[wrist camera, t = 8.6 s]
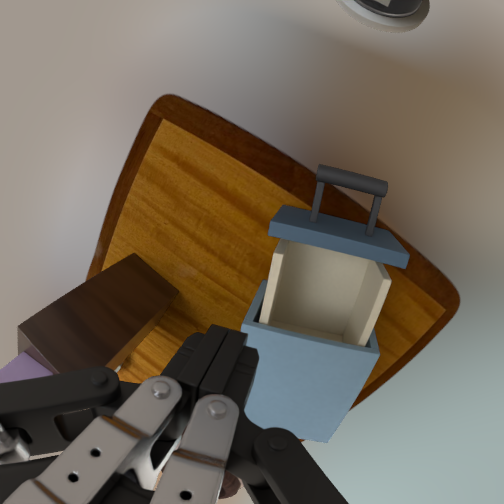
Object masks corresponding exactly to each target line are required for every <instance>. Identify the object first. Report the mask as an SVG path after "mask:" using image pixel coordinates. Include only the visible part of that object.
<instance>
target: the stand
mask: <svg viewBox="0 0 504 504" xmlns="http://www.w3.org/2000/svg"><path fill="white" fill-rule="evenodd" d="M178 292H179V291H178V290H177V289H176V288H175V287H173V286H172V285H171V284H170V283H168V282H167V281H166V280H165V279H164V278H162V277H161V276H160V275H159V274H158V273H157V272H155V271H154V270H153V269H152V268H151V267H149V266H148V265H147V264H146V263H145V262H144V261H143V260H141V259H140V258H139V257H138V256H137V255H136V254H135V253H133V254H131V255H129V256H127V257H126V258H124V259H122V260H121V261H119V262H117V263H116V264H114V265H112V266H110V267H109V268H107V269H105V270H104V271H102V272H100V273H99V274H97V275H96V276H94V277H92V278H91V279H89V280H87V281H86V282H84V283H83V284H81V285H79V286H78V287H76V288H75V289H73V290H71V291H70V292H68V293H67V294H65V295H64V296H62V297H60V298H59V299H57V300H56V301H54V302H53V303H51V304H50V305H48V306H47V307H46V308H44V309H42V310H41V311H39V312H38V313H36V314H35V315H34V316H32V317H30V318H29V319H28V320H26V321H24V322H23V323H21V324H20V325H19V326H18V355H19V354H21V353H22V352H23V351H24V352H25V353H27V354H28V355H29V356H30V357H32V358H33V359H34V360H36V361H37V362H38V363H40V364H41V365H43V366H44V367H45V368H47V369H48V370H50V371H51V372H52V373H53V375H55V374H60V373H66V372H71V371H76V370H81V369H86V368H90V367H95V366H105V367H108V368H111V369H112V370H114V371H115V370H116V369H117V368H118V367H119V365H120V364H121V363H122V362H123V361H124V360H125V359H126V358H127V357H128V356H129V355H130V353H131V352H132V351H133V350H134V349H135V348H136V347H137V346H138V345H139V344H140V343H141V342H142V340H143V339H144V338H145V337H146V336H147V335H148V334H149V333H150V332H151V331H152V330H153V329H154V328H155V326H156V325H157V323H158V322H159V320H160V319H161V317H162V316H163V314H164V313H165V311H166V310H167V308H168V307H169V305H170V304H171V302H172V301H173V299H174V298H175V296H176V295H177V293H178ZM75 412H77V411H75ZM70 413H72V412H70ZM65 414H67V413H65Z"/></svg>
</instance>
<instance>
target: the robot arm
mask: <svg viewBox="0 0 504 504" xmlns="http://www.w3.org/2000/svg"><path fill="white" fill-rule="evenodd" d="M354 1H355V2H357V3H358V4H359V5H361V6H362V7H364V8H365V9H367V10H369V11H371V12H374V13H376V14H379V15H382V16H386V17H393V18H402V17H407V16H410V15H412V14H414V13H415V12H416V11H417V10H418V8H419V7H420V5H421V2H422V1H423V0H354ZM247 339H248V334H247V333H244V332H240V331H236V330H232V329H228V328H225V327H221V326H218V325H214V324H212V325H211V326H210V328H209V330H208V331H207V333H206V334H202V333H199V332H196V333H194V334H193V335H191V336H189V337H187V339H186V340H185V341H184V343H183V344H182V346H181V347H180V348H179V350H178V351H177V353H176V354H175V355H174V356H173V358H172V359H171V361H170V362H169V363H168V365H167V366H166V367H165V369H164V370H163V372H162V373H161V374H160V376H153V377H150V378H148V379H146V380H145V381H144V382H143V383H140V384H138V383H131V382H124V381H119V377H118V375H117V373H116V372H115V371H114V370H112V369H111V368H108V367H105V366H95V367H90V368H86V369H81V370H76V371H71V372H66V373H60V374H55V375H49V376H44V377H38V378H32V379H25V380H19V381H12V382H4V383H0V504H217V500H218V497H219V493H220V489H221V485H222V482H223V478H224V474H225V470H226V471H228V472H230V473H231V474H233V475H234V476H236V477H238V478H240V479H241V480H242V483H243V485H244V487H245V489H246V490H247V492H248V494H249V495H250V497H251V499H252V501H253V502H254V504H348V502H347V501H346V500H345V498H344V497H343V496H342V495H341V494H340V492H338V490H337V489H336V487H335V486H334V485H333V484H332V483H331V481H330V480H329V479H328V477H326V475H325V474H324V472H323V471H322V470H321V469H320V467H319V466H318V465H317V463H316V462H315V461H314V460H313V458H312V457H311V455H310V454H309V453H308V452H307V450H306V449H305V447H304V446H303V445H302V443H301V442H300V441H299V439H298V438H297V437H296V436H295V435H294V434H293V433H292V432H290V431H289V430H287V429H284V428H279V427H270V428H266V429H263V428H261V427H259V426H258V425H256V424H254V423H253V422H252V421H250V420H249V418H248V417H247V416H246V414H245V412H244V410H245V407H246V404H247V401H248V398H249V395H250V392H251V389H252V386H253V383H254V379H255V375H256V371H257V367H258V362H259V354H258V350H257V349H256V348H252V347H249V346H246V344H247ZM89 408H90V409H89ZM84 409H86V410H84ZM80 410H81V411H80ZM75 411H77V412H75ZM70 412H72V413H70ZM65 413H67V414H65ZM187 424H188V425H187ZM186 426H187V427H186ZM185 427H186V430H185V432H184V435H183V437H182V433H183V431H184V429H185ZM181 439H182V440H181ZM180 441H181V442H180ZM179 442H180V445H179V447H178V449H177V450H175V448H176V447H177V445H178V444H179ZM58 451H63V452H62V453H61V454H60V455H56V456H51V457H46V458H40V459H35V460H29V457H30V456H34V455H41V454H47V453H53V452H58ZM167 460H168V462H167ZM166 462H167V464H166V467H165V469H164V471H163V474H162V476H161V478H160V481H159V483H158V485H157V488H156V490H155V491H153V488H154V486H155V484H156V480H157V477H158V474H159V472H160V471H161V469H162V468H163V466H164V465H165V463H166Z"/></svg>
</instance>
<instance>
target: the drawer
mask: <svg viewBox="0 0 504 504" xmlns="http://www.w3.org/2000/svg"><path fill="white" fill-rule="evenodd" d="M316 180H317V181H318V182H317V187H316V192H315V196H314V201H313V206H312V210H311V211H309V210H304V209H300V208H295V207H291V206H286V205H282V207H281V208H280V209H279V211H278V212H277V213H276V215H275V216H274V217H273V219H272V220H271V221H270V226H269V231H268V236H273V237H277V238H281V239H280V241H279V243H278V245H277V247H276V249H275V251H274V254H273V258H272V263H271V268H270V273H269V278H268V282H267V287H266V292H265V296H264V301H263V306H262V310H261V315H260V319H259V323H260V324H264V325H268V326H272V327H276V328H280V329H284V330H288V331H292V332H297V333H301V334H305V335H309V336H314V337H318V338H323V339H327V340H332V341H337V342H342V343H347V344H352V345H357V346H362V347H365V345H366V343H367V341H368V339H369V337H370V334H371V332H372V330H373V327H374V325H375V323H376V320H377V318H378V316H379V313H380V311H381V308H382V306H383V303H384V301H385V298H386V295H387V293H388V290H389V287H390V285H391V282H392V280H391V278H390V276H389V275H388V273H387V271H386V269H385V267H384V265H383V263H385V264H389V265H393V266H396V267H400V268H404V269H405V268H406V265H407V263H408V260H409V257H410V255H409V253H408V252H407V251H406V250H405V249H404V248H403V246H402V245H401V244H400V243H399V242H398V241H397V239H396V238H395V237H394V236H393V235H392V234H391V233H390V232H389V231H388V230H384V229H381V228H377V227H375V224H376V220H377V216H378V212H379V208H380V205H381V200H382V197H385V196H386V193H387V190H388V182H387V181H383V180H380V179H376V178H372V177H369V176H365V175H361V174H358V173H354V172H350V171H346V170H342V169H338V168H334V167H329V166H325V165H321V164H319V166H318V170H317V175H316ZM325 183H329V184H333V185H337V186H342V187H345V188H349V189H354V190H357V191H361V192H365V193H368V194H373V195H375V196H374V200H373V204H372V208H371V212H370V216H369V220H368V223H367V225H365V224H362V223H358V222H354V221H350V220H346V219H342V218H338V217H334V216H330V215H326V214H321V213H318V212H319V208H320V203H321V199H322V194H323V190H324V185H325Z"/></svg>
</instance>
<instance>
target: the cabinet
mask: <svg viewBox="0 0 504 504" xmlns="http://www.w3.org/2000/svg"><path fill="white" fill-rule="evenodd" d="M267 282H268V281H267V280H263V281H262V283H261V285H260V287H259V289H258V291H257V293H256V295H255V298H254V300H253V302H252V304H251V306H250V308H249V310H248V312H247V314H246V316H245V318H244V321H243V323H242V327H241V332H244V333H247V334H248V339H247V344H246V346H249V347H252V348H256V349H257V350H258V354H259V362H258V367H257V371H256V375H255V379H254V383H253V386H252V389H251V392H250V395H249V398H248V401H247V404H246V407H245V410H244V412H245V414H246V416H247V417H248V418H249V420H250V421H252V422H253V423H254V424H256V425H258V426H259V427H261V428H263V429H266V428H270V427H279V428H284V429H287V430H289V431H290V432H292V433H293V434H294V435H295V436H296V437H297V438H300V439H305V440H311V441H317V442H324V443H328V441H329V440H330V438H331V437H332V435H333V434H334V432H335V431H336V429H337V428H338V427H339V425H340V423H341V422H342V420H343V419H344V417H345V416H346V414H347V412H348V411H349V409H350V408H351V406H352V404H353V403H354V401H355V399H356V398H357V396H358V394H359V393H360V391H361V389H362V387H363V386H364V384H365V382H366V380H367V378H368V377H369V375H370V373H371V371H372V369H373V367H374V365H375V363H376V361H377V360H378V358H379V356H380V353H379V347H378V343H377V339H376V335H375V331H374V327H373V330H372V332H371V334H370V337H369V339H368V341H367V343H366V345H365V347H362V346H357V345H352V344H347V343H342V342H337V341H332V340H327V339H323V338H318V337H314V336H309V335H305V334H301V333H297V332H292V331H288V330H284V329H280V328H276V327H272V326H268V325H264V324H260V323H259V319H260V315H261V310H262V306H263V301H264V296H265V292H266V287H267Z"/></svg>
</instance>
